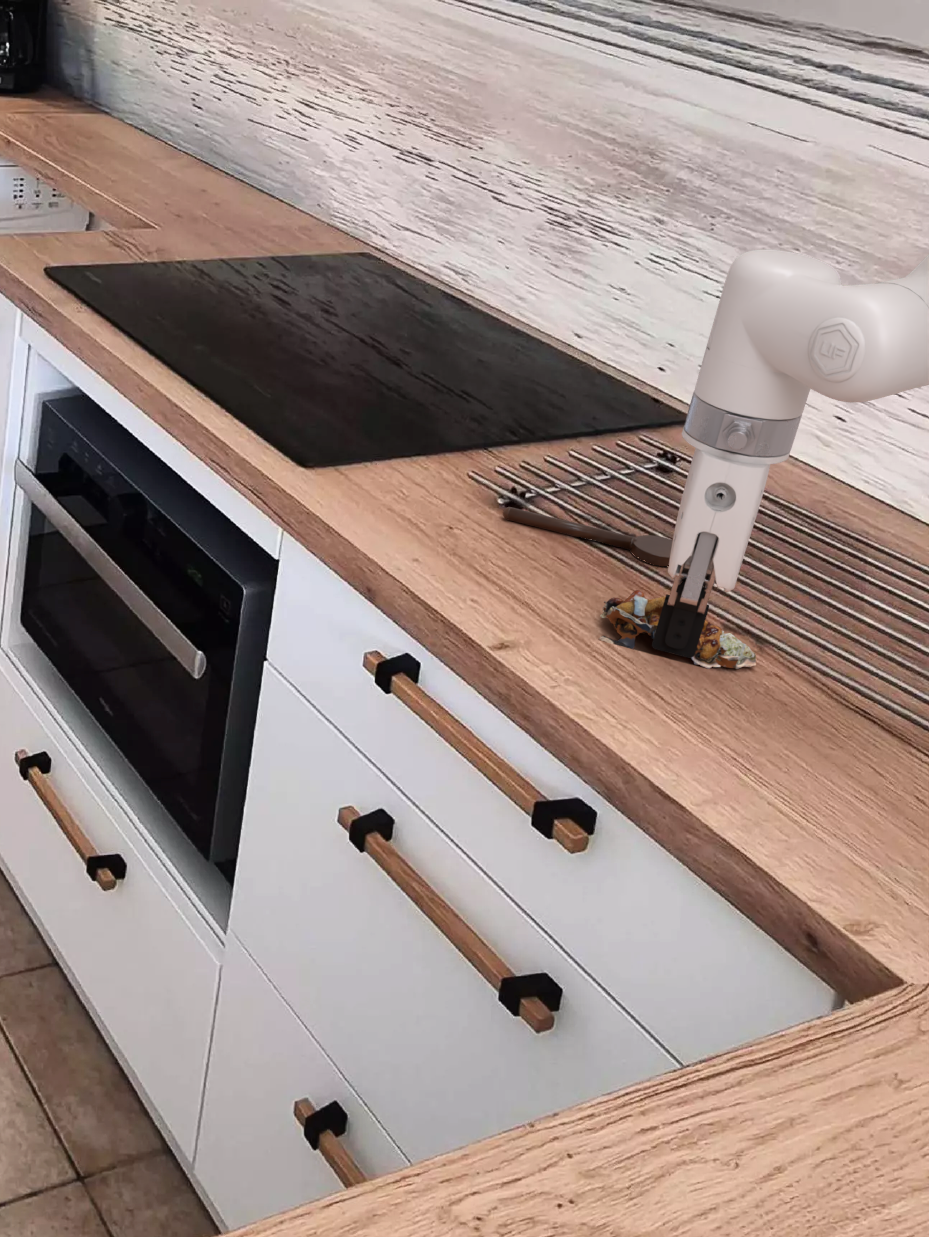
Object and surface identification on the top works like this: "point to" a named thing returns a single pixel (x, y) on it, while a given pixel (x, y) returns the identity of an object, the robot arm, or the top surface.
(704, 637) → the pastry
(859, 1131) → the top surface
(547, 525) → the walnut spoon
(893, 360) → the robot arm
